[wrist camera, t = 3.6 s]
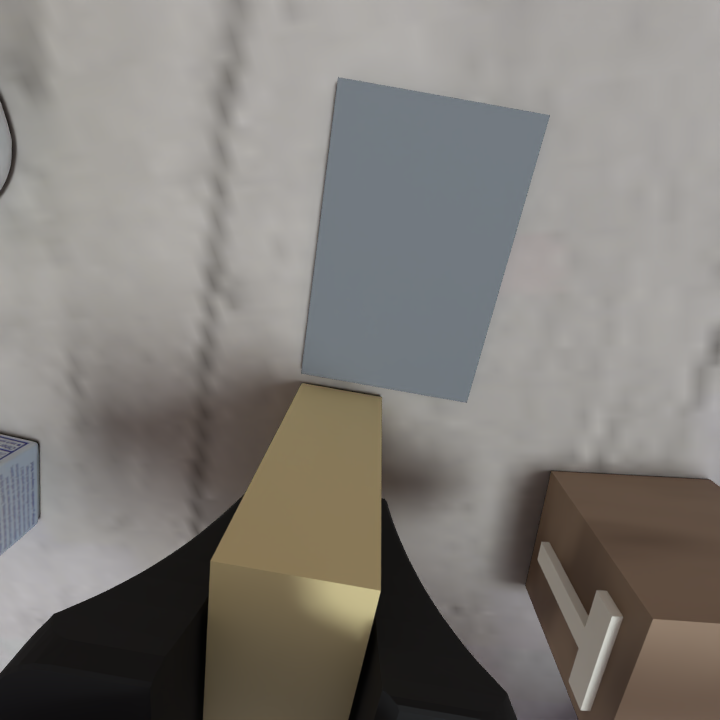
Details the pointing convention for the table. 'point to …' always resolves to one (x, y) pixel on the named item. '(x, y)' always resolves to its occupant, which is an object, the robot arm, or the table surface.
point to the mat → (415, 236)
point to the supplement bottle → (4, 148)
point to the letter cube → (631, 594)
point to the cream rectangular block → (300, 567)
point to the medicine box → (18, 489)
